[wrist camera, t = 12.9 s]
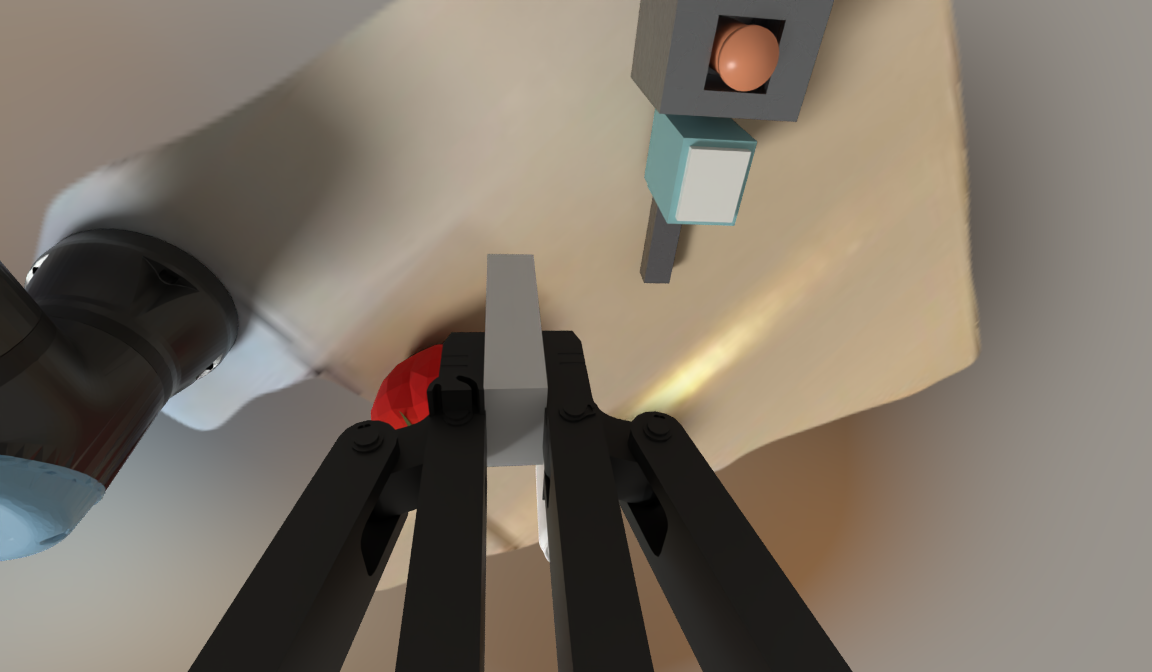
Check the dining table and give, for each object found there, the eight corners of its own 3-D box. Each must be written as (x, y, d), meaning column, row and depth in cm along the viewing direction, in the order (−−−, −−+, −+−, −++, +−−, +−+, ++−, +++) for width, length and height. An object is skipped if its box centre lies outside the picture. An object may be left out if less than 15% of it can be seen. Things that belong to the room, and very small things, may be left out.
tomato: (501, 334, 55) (499, 405, 47) (482, 422, 62) (478, 498, 54) (385, 317, 53) (362, 390, 45) (379, 411, 60) (358, 489, 52)
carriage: (643, 177, 46) (669, 227, 39) (654, 102, 42) (686, 140, 35) (700, 180, 47) (737, 229, 39) (716, 106, 43) (760, 144, 36)
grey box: (630, 77, 42) (659, 113, 34) (645, -33, 38) (681, -21, 30) (748, 85, 43) (802, 122, 35) (774, -21, 39) (842, -7, 31)
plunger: (689, 69, 37) (714, 89, 32) (700, 10, 35) (728, 23, 30) (738, 72, 37) (769, 93, 33) (751, 15, 35) (786, 28, 31)
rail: (639, 272, 52) (643, 282, 51) (672, 80, 42) (679, 86, 41) (664, 272, 53) (669, 283, 51) (702, 82, 43) (710, 88, 41)
